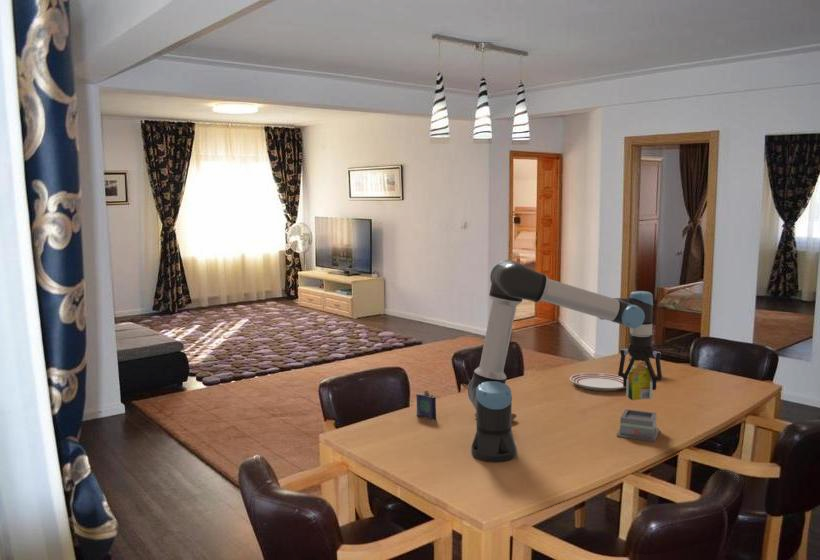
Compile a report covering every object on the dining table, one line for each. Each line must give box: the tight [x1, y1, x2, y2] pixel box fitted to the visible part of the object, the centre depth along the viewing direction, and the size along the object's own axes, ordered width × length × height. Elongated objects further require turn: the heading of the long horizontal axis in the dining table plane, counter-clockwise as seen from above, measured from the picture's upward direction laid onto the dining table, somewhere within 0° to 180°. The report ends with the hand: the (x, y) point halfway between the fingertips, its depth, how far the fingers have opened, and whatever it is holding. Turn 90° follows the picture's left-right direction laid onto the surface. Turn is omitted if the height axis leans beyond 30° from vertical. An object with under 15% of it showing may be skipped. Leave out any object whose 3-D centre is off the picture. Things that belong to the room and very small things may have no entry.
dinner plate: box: [569, 372, 626, 392], centre depth 296 cm, size 27×27×3 cm
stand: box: [616, 408, 660, 443], centre depth 234 cm, size 13×13×7 cm
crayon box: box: [628, 367, 652, 401], centre depth 232 cm, size 7×3×12 cm, turn 100°
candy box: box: [628, 342, 647, 372], centre depth 316 cm, size 9×4×15 cm, turn 126°
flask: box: [415, 390, 437, 420], centre depth 256 cm, size 9×3×11 cm, turn 50°
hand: (639, 396), depth 233 cm, fingers closed on crayon box, 7 cm apart
